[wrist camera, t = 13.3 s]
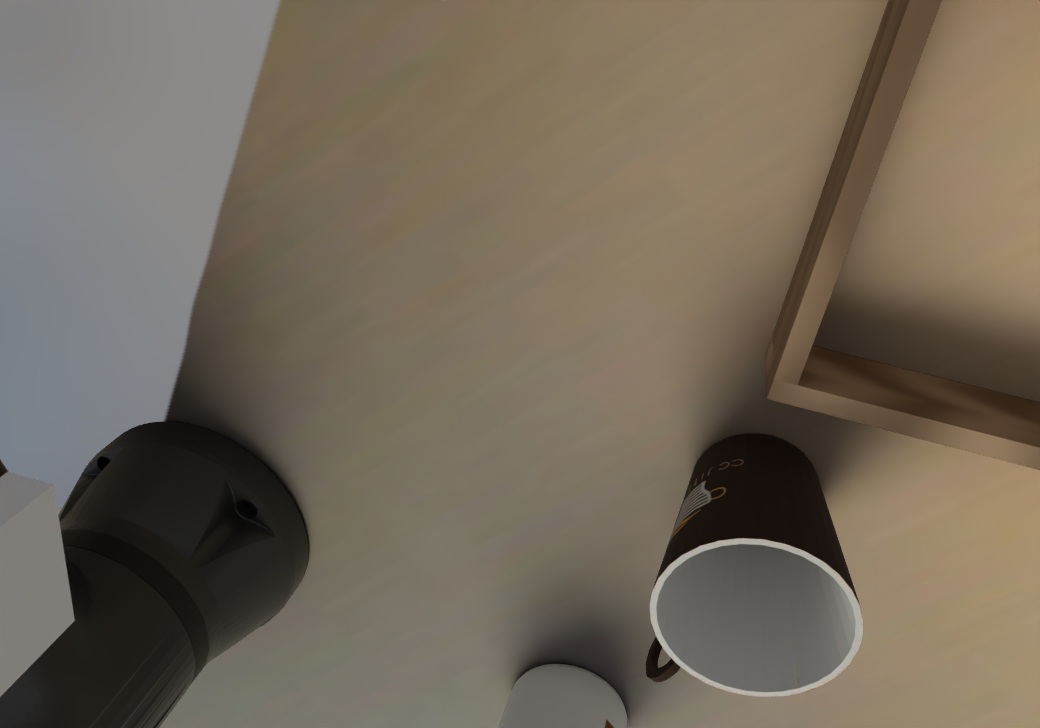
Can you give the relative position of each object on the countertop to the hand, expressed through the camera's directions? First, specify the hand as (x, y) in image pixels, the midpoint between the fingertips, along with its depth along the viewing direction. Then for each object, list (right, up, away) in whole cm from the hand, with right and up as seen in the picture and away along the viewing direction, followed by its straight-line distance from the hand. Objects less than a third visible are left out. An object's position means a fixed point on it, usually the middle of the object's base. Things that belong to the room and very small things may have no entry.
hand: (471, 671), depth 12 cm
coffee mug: (+12, -3, +33) cm, 35 cm away
